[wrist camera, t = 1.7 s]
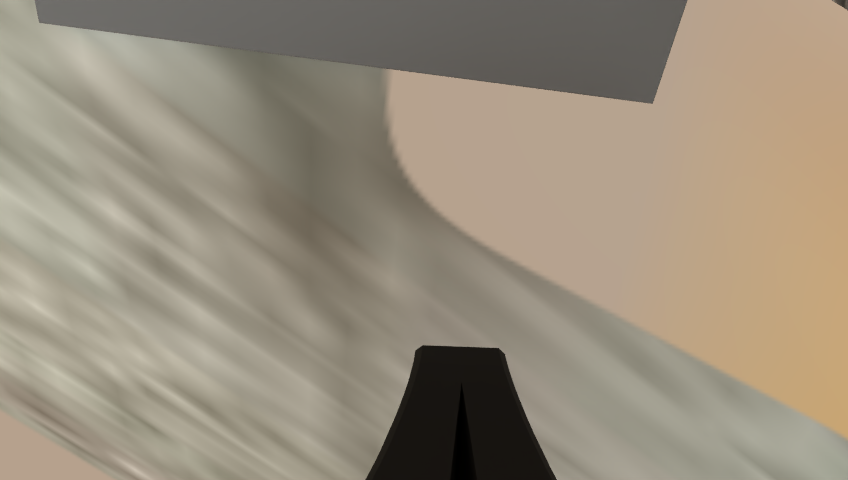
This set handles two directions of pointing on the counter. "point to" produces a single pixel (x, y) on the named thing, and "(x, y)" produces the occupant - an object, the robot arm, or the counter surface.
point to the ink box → (842, 3)
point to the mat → (422, 35)
